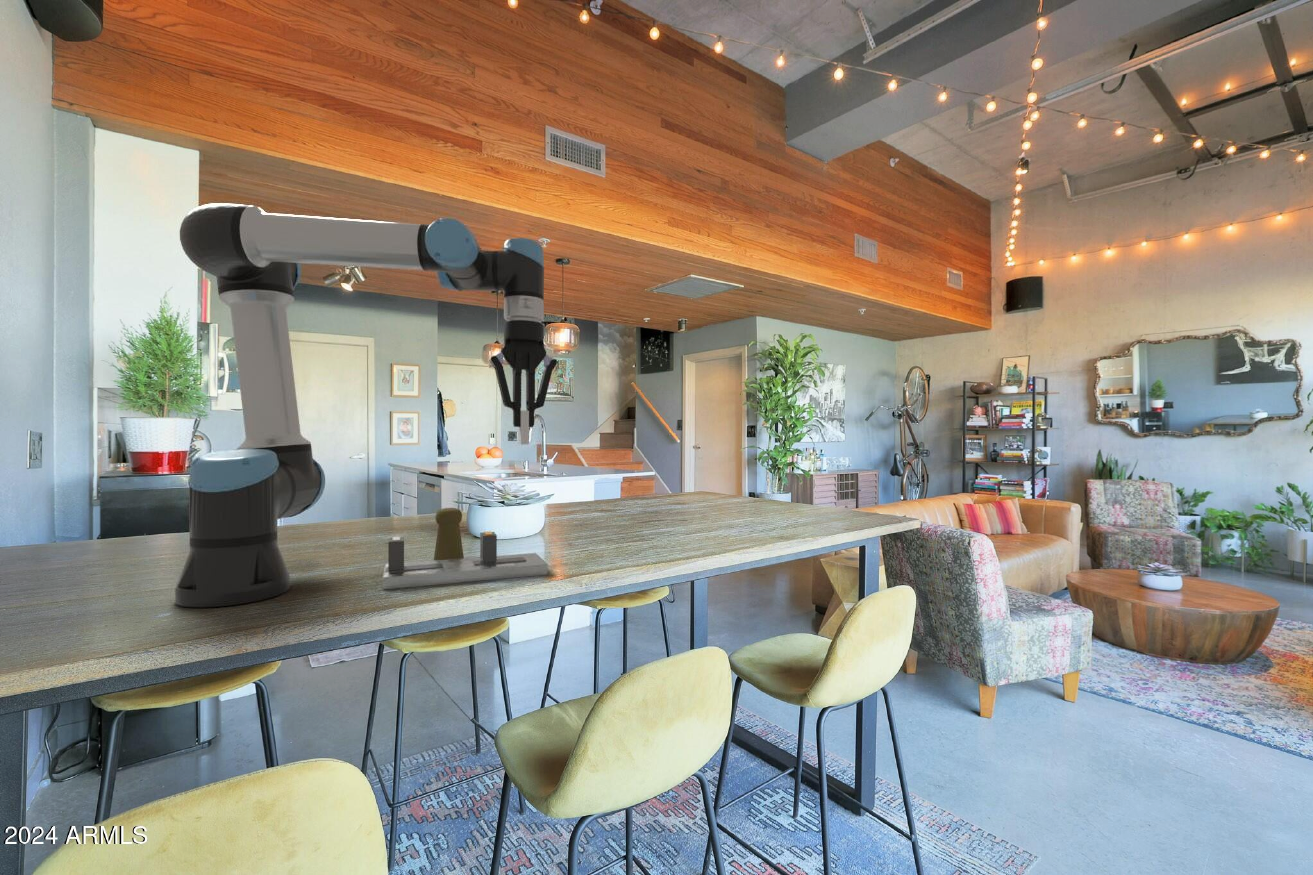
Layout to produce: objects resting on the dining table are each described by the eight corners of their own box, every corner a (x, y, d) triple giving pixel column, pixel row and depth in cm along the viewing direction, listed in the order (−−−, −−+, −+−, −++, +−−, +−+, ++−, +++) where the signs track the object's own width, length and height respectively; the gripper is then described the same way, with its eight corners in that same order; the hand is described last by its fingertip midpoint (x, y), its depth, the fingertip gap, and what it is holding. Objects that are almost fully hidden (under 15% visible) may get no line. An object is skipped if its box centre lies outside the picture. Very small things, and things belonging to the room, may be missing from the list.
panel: (382, 589, 99) (382, 576, 99) (385, 575, 109) (385, 563, 109) (547, 574, 110) (547, 562, 110) (535, 562, 120) (535, 551, 120)
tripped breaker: (482, 562, 109) (482, 534, 109) (480, 558, 113) (480, 531, 113) (496, 561, 110) (496, 534, 110) (493, 557, 114) (493, 530, 114)
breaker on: (388, 570, 103) (388, 540, 103) (389, 565, 106) (389, 537, 106) (403, 569, 104) (404, 539, 104) (404, 564, 107) (404, 536, 107)
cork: (454, 565, 118) (454, 510, 118) (427, 564, 119) (427, 509, 119) (469, 559, 123) (469, 506, 123) (443, 557, 125) (443, 506, 125)
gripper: (491, 315, 108) (491, 444, 108) (561, 321, 113) (561, 444, 113) (486, 322, 114) (486, 444, 115) (552, 327, 120) (552, 443, 120)
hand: (523, 444), depth 114 cm, fingers closed
